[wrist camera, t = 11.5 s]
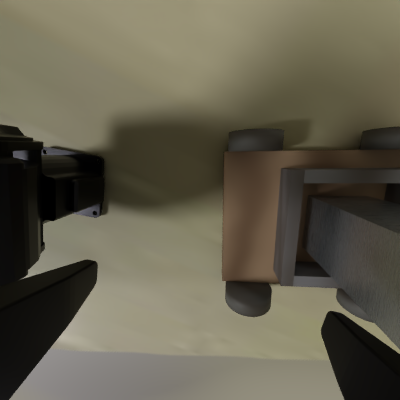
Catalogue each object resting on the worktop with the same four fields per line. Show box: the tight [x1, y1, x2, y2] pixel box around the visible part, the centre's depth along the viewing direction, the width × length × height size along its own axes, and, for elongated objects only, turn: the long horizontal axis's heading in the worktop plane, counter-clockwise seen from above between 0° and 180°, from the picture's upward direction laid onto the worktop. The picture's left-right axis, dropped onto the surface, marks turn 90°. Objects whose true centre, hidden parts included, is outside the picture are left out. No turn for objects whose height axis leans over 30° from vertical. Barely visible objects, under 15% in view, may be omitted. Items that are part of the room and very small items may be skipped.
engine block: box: [302, 195, 400, 349], centre depth 12 cm, size 5×5×13 cm
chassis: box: [222, 127, 400, 323], centre depth 18 cm, size 16×16×4 cm
